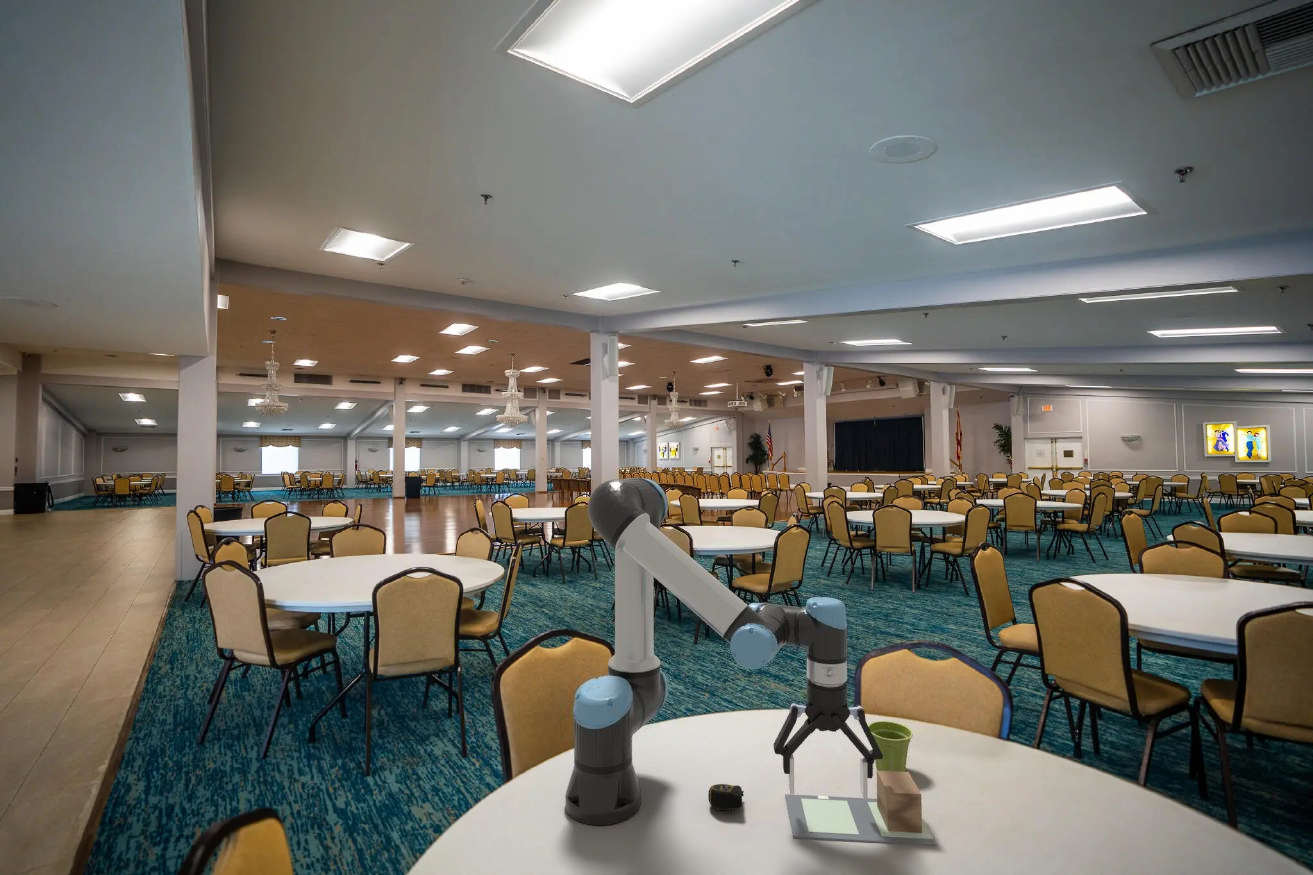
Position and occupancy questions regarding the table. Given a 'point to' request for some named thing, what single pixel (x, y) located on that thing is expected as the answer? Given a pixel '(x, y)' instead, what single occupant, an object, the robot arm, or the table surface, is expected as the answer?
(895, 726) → the plant pot
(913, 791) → the walnut block
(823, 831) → the grey flat panel
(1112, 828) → the table surface
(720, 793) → the tape measure
